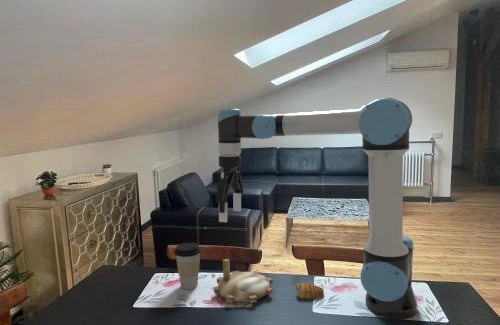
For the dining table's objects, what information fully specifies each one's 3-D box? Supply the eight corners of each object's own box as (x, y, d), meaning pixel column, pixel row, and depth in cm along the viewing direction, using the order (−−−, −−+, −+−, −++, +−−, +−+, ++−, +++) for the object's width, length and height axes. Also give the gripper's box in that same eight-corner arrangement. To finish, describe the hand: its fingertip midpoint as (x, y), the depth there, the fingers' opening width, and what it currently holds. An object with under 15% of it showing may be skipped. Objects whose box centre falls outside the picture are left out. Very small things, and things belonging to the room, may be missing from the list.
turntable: (282, 281, 127) (282, 257, 126) (258, 309, 109) (257, 282, 107) (232, 270, 137) (232, 248, 135) (202, 295, 118) (201, 270, 117)
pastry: (322, 290, 122) (322, 280, 122) (325, 300, 116) (325, 289, 115) (295, 290, 123) (295, 280, 122) (296, 300, 116) (296, 289, 116)
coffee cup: (196, 293, 122) (195, 252, 120) (171, 291, 124) (169, 250, 122) (205, 280, 131) (204, 242, 129) (182, 279, 133) (180, 241, 131)
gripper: (232, 151, 131) (233, 206, 134) (203, 159, 107) (205, 225, 110) (251, 151, 129) (251, 207, 132) (226, 160, 105) (227, 228, 108)
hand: (230, 216), depth 121 cm, fingers open, 13 cm apart
